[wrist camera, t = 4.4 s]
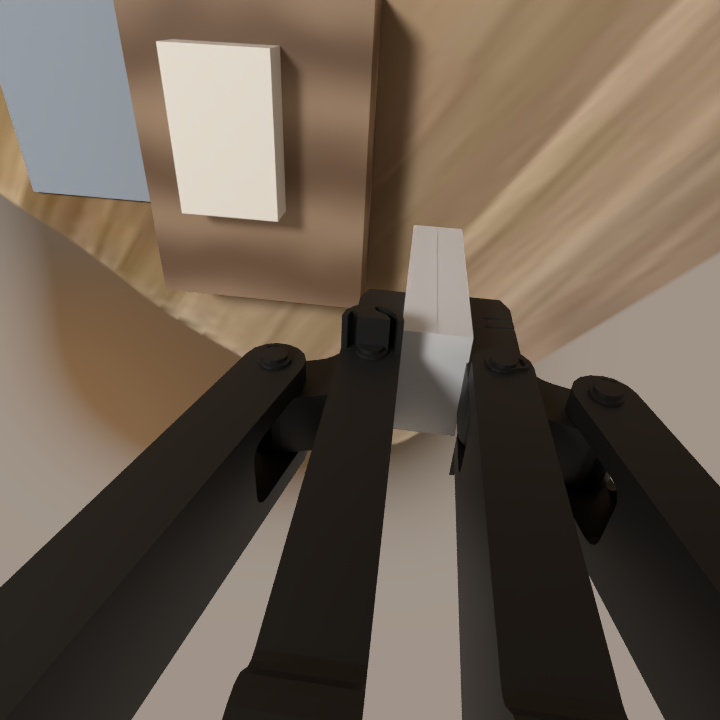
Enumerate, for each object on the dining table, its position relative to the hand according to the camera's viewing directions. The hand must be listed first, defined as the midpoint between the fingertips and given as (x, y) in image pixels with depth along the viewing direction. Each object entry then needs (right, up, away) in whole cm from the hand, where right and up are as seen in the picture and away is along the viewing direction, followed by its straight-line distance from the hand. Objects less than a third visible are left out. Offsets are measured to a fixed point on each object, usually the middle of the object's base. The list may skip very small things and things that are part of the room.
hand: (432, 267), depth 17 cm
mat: (-21, +14, +18) cm, 31 cm away
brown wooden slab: (-8, +11, +18) cm, 23 cm away
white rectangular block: (-10, +11, +14) cm, 20 cm away
